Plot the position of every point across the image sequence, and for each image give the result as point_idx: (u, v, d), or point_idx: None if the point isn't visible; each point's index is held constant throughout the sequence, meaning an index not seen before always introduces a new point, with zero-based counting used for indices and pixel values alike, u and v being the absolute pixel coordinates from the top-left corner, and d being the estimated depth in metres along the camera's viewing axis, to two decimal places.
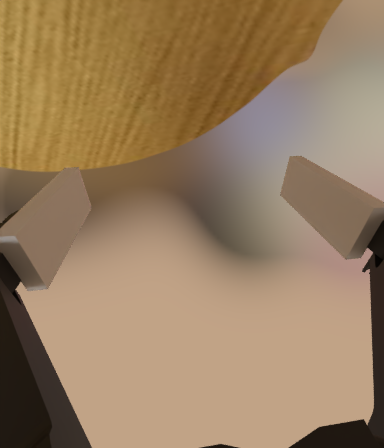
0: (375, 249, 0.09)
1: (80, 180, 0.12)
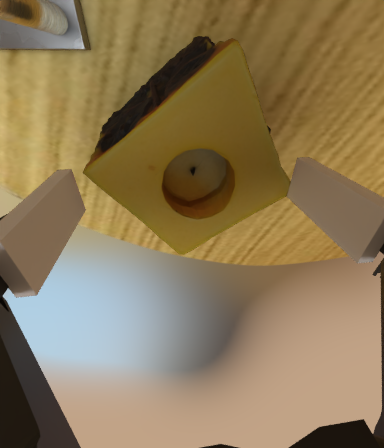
0: None
1: (73, 182, 0.12)
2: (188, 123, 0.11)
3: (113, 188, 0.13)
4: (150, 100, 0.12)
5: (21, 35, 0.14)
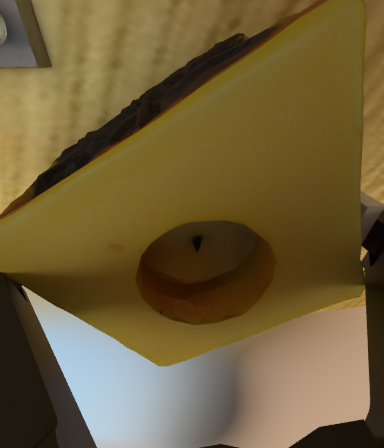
0: (369, 248, 0.09)
1: None
2: (204, 171, 0.05)
3: (33, 277, 0.06)
4: (132, 117, 0.06)
5: None
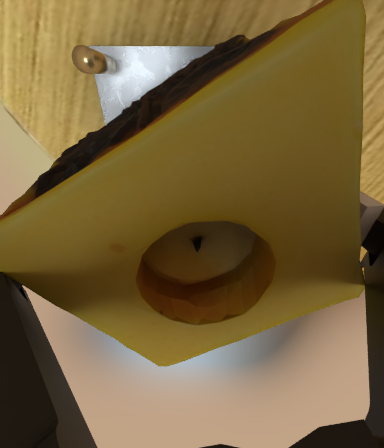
0: (369, 247, 0.09)
1: None
2: (205, 172, 0.05)
3: (34, 278, 0.06)
4: (133, 118, 0.06)
5: None
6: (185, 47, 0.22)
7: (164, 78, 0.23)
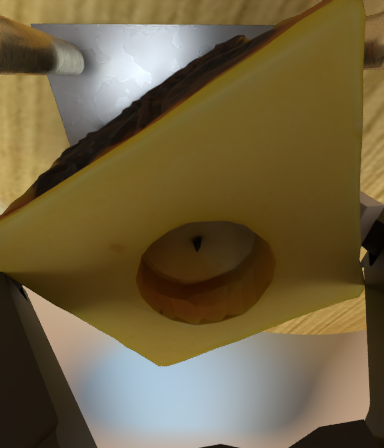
0: (369, 247, 0.09)
1: None
2: (205, 172, 0.05)
3: (34, 277, 0.06)
4: (133, 118, 0.06)
5: None
6: (206, 26, 0.12)
7: None
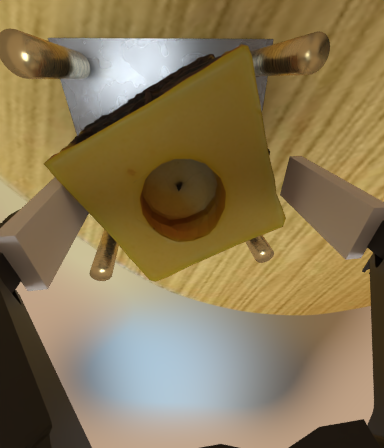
0: (375, 249, 0.09)
1: None
2: (182, 127, 0.09)
3: (80, 189, 0.10)
4: (142, 100, 0.11)
5: None
6: (188, 40, 0.15)
7: None
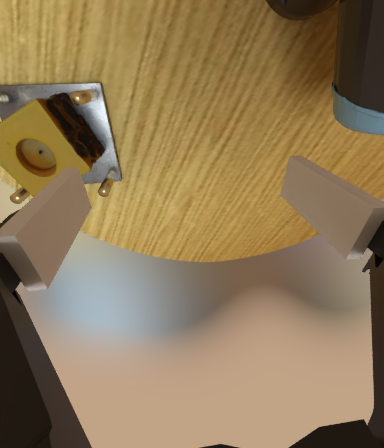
0: (375, 249, 0.09)
1: (80, 180, 0.12)
2: (22, 126, 0.26)
3: None
4: None
5: (99, 179, 0.41)
6: (55, 85, 0.32)
7: None
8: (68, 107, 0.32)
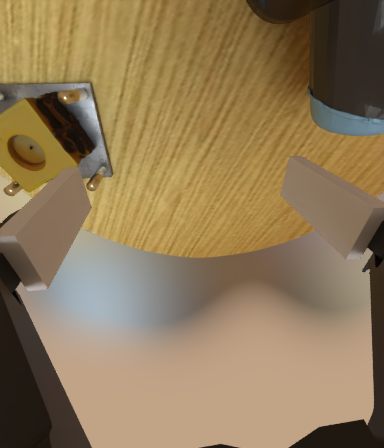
0: (375, 249, 0.09)
1: (80, 180, 0.12)
2: (13, 123, 0.28)
3: None
4: None
5: (90, 174, 0.43)
6: (47, 84, 0.34)
7: None
8: (59, 105, 0.34)
